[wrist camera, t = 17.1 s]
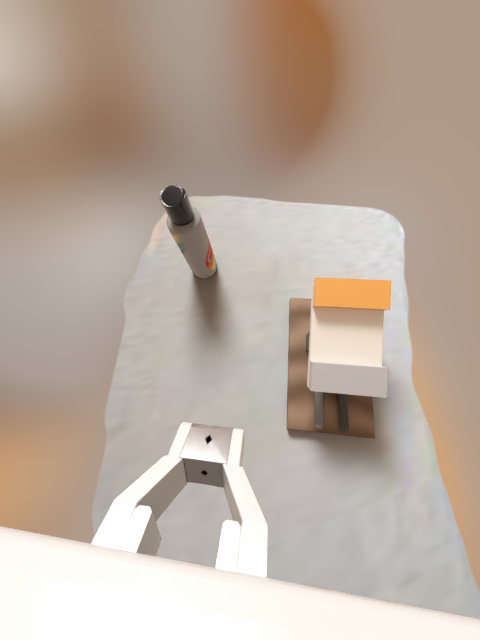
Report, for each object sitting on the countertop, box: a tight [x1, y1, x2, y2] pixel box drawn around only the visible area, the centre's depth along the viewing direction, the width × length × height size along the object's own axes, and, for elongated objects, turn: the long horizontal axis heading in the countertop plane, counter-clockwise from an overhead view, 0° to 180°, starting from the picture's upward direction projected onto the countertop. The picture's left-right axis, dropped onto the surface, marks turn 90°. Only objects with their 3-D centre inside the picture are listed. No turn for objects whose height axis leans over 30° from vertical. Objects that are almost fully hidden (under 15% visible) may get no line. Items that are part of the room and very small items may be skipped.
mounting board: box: [287, 298, 375, 438], centre depth 41 cm, size 24×14×2 cm, turn 175°
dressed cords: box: [314, 391, 349, 432], centre depth 38 cm, size 13×5×1 cm, turn 175°
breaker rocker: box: [307, 278, 391, 398], centre depth 32 cm, size 16×10×3 cm, turn 174°
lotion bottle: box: [160, 185, 217, 278], centre depth 41 cm, size 6×6×20 cm
